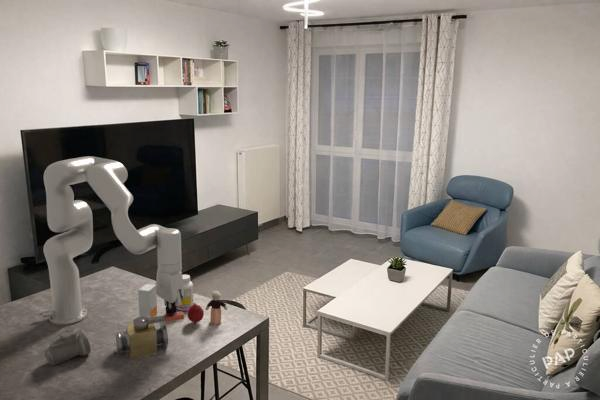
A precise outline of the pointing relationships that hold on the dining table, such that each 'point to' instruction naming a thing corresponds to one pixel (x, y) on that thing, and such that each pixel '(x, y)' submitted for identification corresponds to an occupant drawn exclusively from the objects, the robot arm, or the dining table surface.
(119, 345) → the valve
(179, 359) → the dining table surface
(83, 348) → the pipe fitting
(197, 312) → the onion
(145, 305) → the skincare box
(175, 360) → the dining table surface
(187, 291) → the supplement bottle
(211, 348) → the dining table surface
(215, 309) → the grandmother figurine
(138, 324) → the lever
